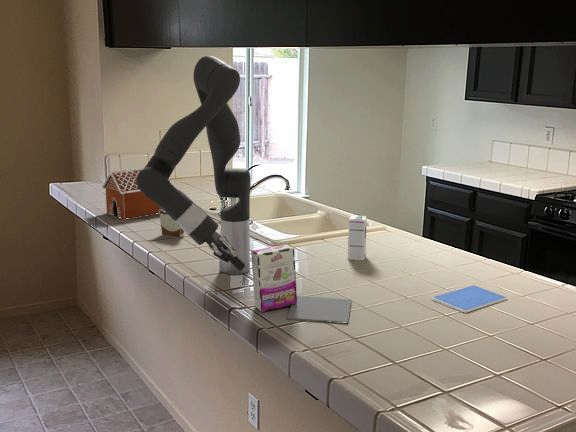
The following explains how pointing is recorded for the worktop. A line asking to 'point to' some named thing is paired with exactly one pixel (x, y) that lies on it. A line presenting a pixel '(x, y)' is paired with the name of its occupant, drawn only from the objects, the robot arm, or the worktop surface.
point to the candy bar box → (274, 277)
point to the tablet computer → (469, 298)
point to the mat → (320, 309)
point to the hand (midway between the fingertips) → (242, 267)
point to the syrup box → (357, 237)
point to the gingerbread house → (127, 195)
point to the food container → (169, 226)
